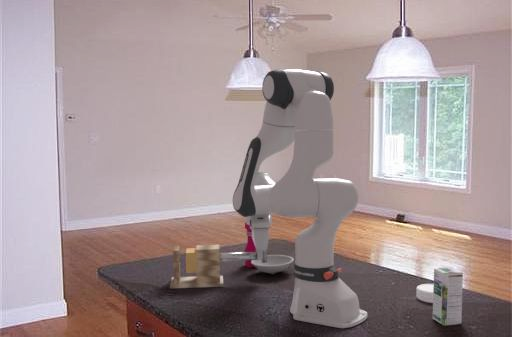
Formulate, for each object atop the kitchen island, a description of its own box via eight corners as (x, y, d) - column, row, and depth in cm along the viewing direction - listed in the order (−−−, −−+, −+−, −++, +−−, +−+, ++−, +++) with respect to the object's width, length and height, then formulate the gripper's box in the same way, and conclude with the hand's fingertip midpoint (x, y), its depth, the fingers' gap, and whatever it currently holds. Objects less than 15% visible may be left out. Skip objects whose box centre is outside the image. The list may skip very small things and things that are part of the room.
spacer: (197, 267, 190) (196, 248, 190) (196, 272, 183) (196, 252, 183) (187, 267, 190) (186, 248, 190) (186, 273, 183) (185, 253, 183)
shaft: (265, 260, 191) (265, 247, 191) (267, 264, 186) (266, 250, 186) (195, 262, 189) (195, 249, 189) (194, 266, 184) (194, 252, 184)
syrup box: (431, 318, 150) (432, 267, 149) (450, 317, 152) (451, 266, 151) (443, 326, 145) (444, 273, 144) (462, 324, 146) (463, 271, 145)
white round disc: (434, 306, 162) (435, 294, 161) (409, 297, 170) (409, 286, 170) (456, 300, 167) (457, 289, 166) (431, 292, 175) (431, 281, 175)
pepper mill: (260, 268, 206) (259, 216, 204) (242, 267, 207) (241, 216, 206) (263, 263, 213) (263, 213, 211) (246, 262, 214) (245, 213, 213)
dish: (273, 282, 187) (273, 268, 187) (242, 275, 196) (242, 262, 196) (302, 271, 201) (302, 258, 200) (272, 265, 210) (272, 252, 209)
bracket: (222, 278, 193) (222, 243, 192) (223, 286, 183) (222, 250, 182) (172, 279, 192) (171, 245, 191) (169, 288, 182) (168, 251, 181)
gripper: (247, 214, 197) (248, 251, 198) (251, 224, 177) (252, 265, 178) (264, 213, 198) (265, 250, 199) (271, 223, 177) (271, 264, 179)
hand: (259, 257), depth 188 cm, fingers closed on shaft, 3 cm apart
